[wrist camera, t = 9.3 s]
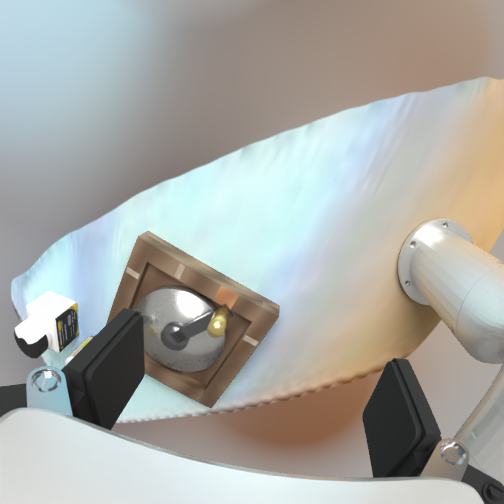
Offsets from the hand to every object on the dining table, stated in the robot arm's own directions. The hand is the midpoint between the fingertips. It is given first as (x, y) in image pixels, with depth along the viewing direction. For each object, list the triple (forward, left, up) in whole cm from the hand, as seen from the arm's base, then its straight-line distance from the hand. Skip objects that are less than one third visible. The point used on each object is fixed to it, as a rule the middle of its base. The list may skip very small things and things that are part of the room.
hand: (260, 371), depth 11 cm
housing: (+5, +22, -30) cm, 37 cm away
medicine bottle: (+25, +34, -31) cm, 52 cm away
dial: (+4, +20, -29) cm, 36 cm away
